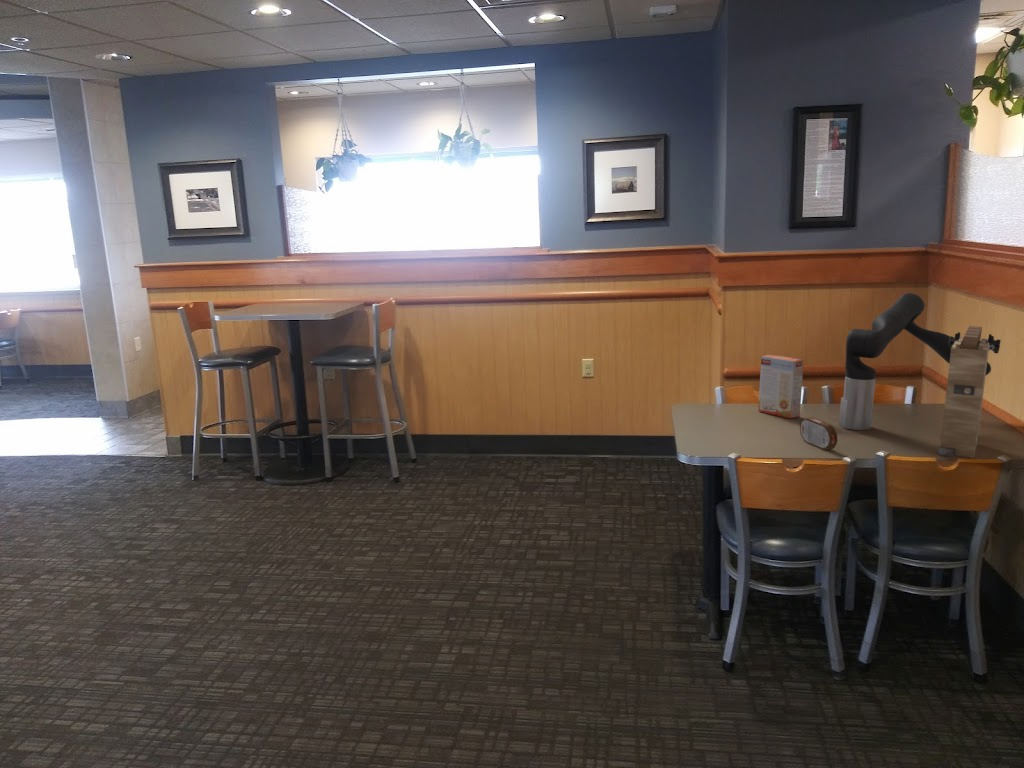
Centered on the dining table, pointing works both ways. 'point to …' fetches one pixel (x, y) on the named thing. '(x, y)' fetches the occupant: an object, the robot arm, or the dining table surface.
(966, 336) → the bar
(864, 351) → the robot arm
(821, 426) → the tin
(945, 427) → the stand
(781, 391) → the cracker box
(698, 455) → the dining table surface
